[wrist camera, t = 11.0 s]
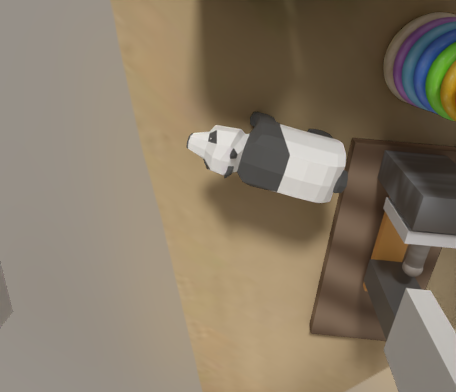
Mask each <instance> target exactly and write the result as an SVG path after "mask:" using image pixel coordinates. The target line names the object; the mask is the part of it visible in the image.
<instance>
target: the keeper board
mask: <svg viewBox="0 0 456 392" xmlns="http://www.w3.org/2000/svg"><path fill="white" fill-rule="evenodd" d="M345 171H347V172H348V181H347V186H346V188H345V189H344V191H343V192H342V193H339V197H338V202H337V206H336V211H335V215H334V219H333V224H332V228H331V233H330V237H329V241H328V246H327V250H326V255H325V259H324V263H323V268H322V272H321V276H320V281H319V285H318V290H317V294H316V298H315V303H314V307H313V312H312V316H311V320H310V331H311V333H312V334H322V335H332V336H342V337H352V338H361V339H371V340H381V341H386V339H385V336H384V333H383V331H382V328H381V325H380V323H379V320H378V318H377V315H376V312H375V310H374V307H373V304H372V302H371V299H370V296H369V294H368V291H365V290H364V287H363V283H364V277H365V274H366V270H367V267H368V264H369V260H370V259H371V256H372V253H373V249H374V246H375V242H376V239H377V236H378V232H379V229H380V225H381V222H382V219H383V215H384V212H385V210H384V209H383V207H384V204H385V200H386V197H389V196H390V198H391V199H392V200H393V202H394V203H395V205H396V206H397V208H398V209H399V211H400V212H401V214H402V215H403V217H404V218H405V220H406V221H407V223H408V224H409V226H410V227H411V229H412V230H417V231H428V232H438V233H449V234H456V147H451V146H439V145H428V144H417V143H405V142H394V141H382V140H371V139H359V138H352V140H351V145H350V149H349V154H348V158H347V162H346V167H345ZM441 249H442V247H436V246H425V245H415V244H408V246H407V249H406V252H405V255H404V258H403V261H402V262H403V264H402V268H403V271H404V272H405V273H406V274H407V275H408V276H412V277H415V278H416V280H417V282H418V284H419V285H420V287H421V289H422V290H425V289H426V287H427V284H428V282H429V279H430V277H431V274H432V272H433V269H434V267H435V264H436V261H437V259H438V256H439V254H440V251H441Z"/></svg>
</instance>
